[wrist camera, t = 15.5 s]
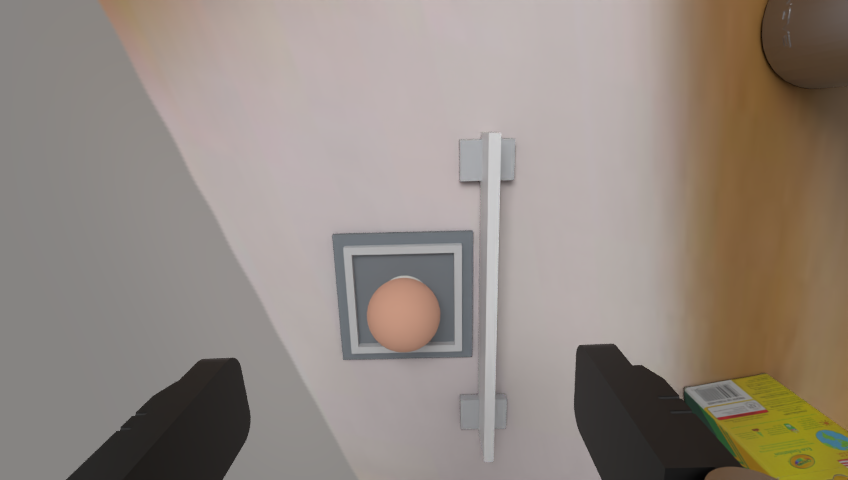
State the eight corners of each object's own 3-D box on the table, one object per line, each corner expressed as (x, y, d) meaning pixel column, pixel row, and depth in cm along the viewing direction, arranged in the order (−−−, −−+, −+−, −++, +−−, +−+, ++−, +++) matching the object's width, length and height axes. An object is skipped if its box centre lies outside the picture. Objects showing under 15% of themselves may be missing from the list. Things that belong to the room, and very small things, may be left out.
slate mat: (472, 230, 33) (473, 233, 32) (471, 354, 35) (472, 360, 34) (333, 233, 33) (330, 237, 32) (343, 357, 36) (341, 363, 35)
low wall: (513, 131, 31) (526, 132, 27) (504, 426, 37) (513, 461, 34) (459, 132, 31) (464, 133, 27) (460, 427, 37) (464, 462, 34)
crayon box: (683, 414, 37) (795, 539, 26) (682, 386, 36) (797, 502, 25) (767, 400, 37) (918, 521, 25) (768, 371, 36) (924, 483, 25)
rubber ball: (438, 266, 33) (441, 294, 28) (439, 329, 34) (442, 366, 29) (369, 268, 33) (359, 296, 28) (373, 330, 34) (364, 368, 29)
